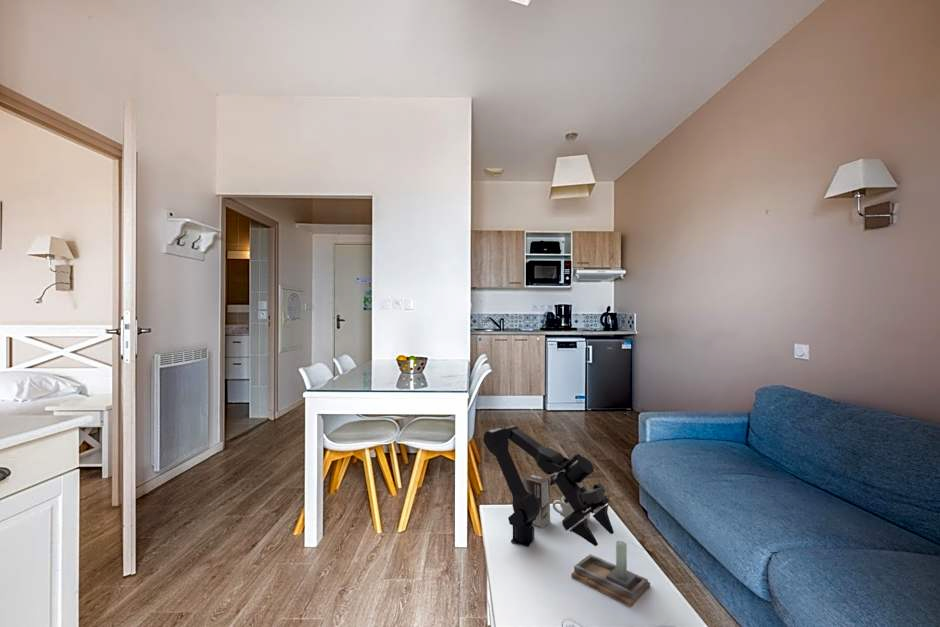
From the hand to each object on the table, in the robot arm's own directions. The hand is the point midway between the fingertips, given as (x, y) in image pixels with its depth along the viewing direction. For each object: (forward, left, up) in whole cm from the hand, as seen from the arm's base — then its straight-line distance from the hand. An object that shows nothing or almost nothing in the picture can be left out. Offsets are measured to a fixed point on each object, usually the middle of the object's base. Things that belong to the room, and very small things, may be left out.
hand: (605, 539), depth 125 cm
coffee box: (-29, +25, -12) cm, 40 cm away
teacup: (-17, +31, -12) cm, 38 cm away
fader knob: (+5, -2, -10) cm, 11 cm away
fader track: (+1, -1, -12) cm, 12 cm away
